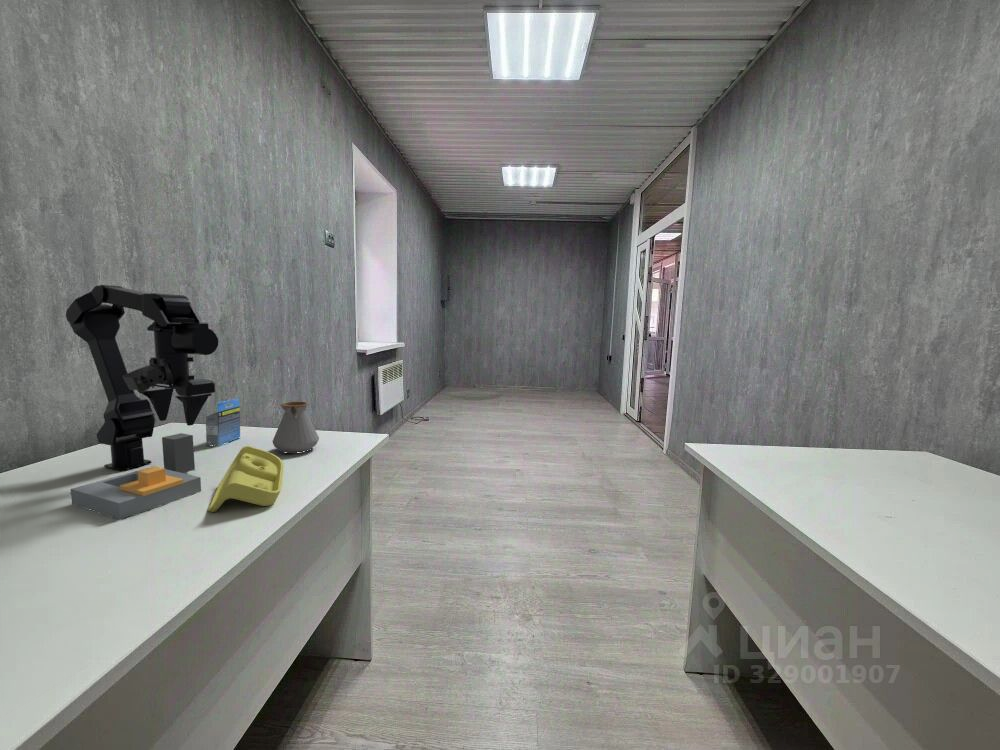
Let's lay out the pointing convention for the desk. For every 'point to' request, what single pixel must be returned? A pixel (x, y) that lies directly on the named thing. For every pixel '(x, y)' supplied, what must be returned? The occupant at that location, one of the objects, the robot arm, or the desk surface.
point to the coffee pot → (295, 429)
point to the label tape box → (223, 423)
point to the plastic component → (251, 479)
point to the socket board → (130, 494)
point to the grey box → (178, 453)
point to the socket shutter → (151, 481)
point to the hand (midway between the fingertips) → (176, 422)
